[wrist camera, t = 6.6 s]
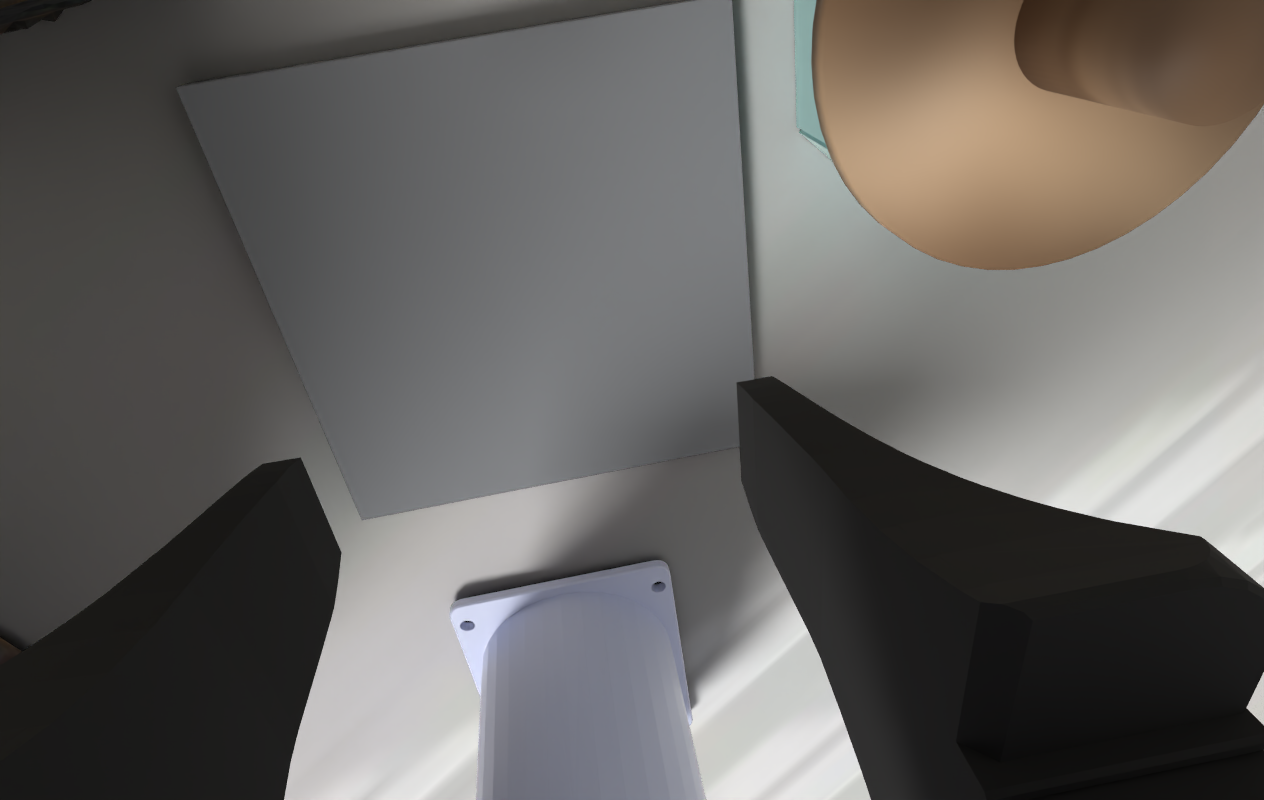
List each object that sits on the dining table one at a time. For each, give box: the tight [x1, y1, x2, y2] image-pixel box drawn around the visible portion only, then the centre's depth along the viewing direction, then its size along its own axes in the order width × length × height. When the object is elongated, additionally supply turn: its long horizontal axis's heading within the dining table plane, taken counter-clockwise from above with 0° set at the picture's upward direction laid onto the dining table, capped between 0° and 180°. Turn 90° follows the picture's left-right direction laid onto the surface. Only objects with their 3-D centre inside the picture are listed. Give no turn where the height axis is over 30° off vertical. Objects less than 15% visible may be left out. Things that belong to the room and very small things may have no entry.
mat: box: [176, 0, 755, 520], centre depth 21 cm, size 13×13×1 cm
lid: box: [811, 0, 1264, 270], centre depth 14 cm, size 11×11×5 cm
